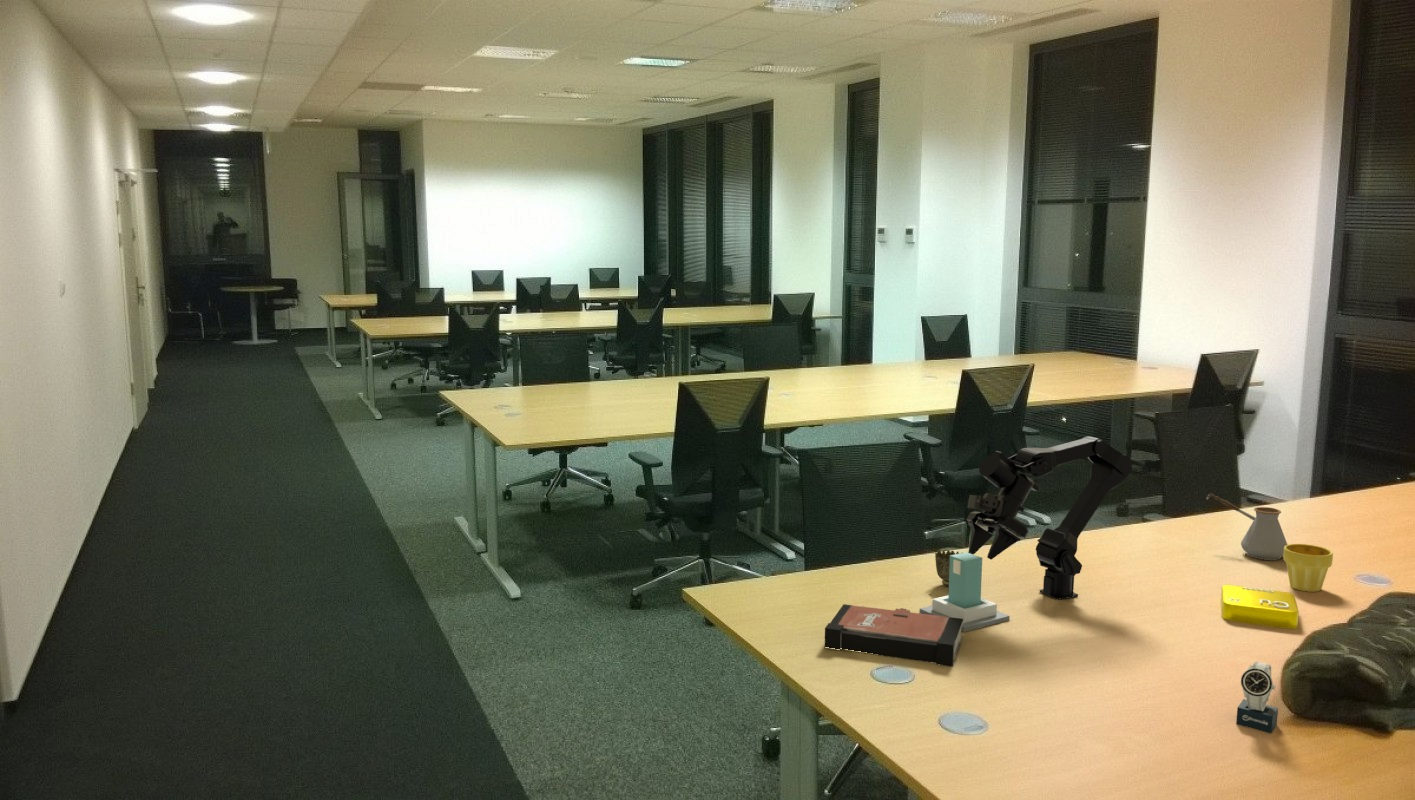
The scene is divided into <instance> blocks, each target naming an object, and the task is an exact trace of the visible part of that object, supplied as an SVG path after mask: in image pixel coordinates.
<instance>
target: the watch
mask: <svg viewBox="0 0 1415 800" xmlns="http://www.w3.org/2000/svg"><path fill="white" fill-rule="evenodd" d="M1240 685H1241V688H1242V691H1243V697H1244V698H1243V699H1242V701H1241V702H1240V703H1239V704H1238V706H1237V707H1236V708H1237V711H1236V721H1235V722H1236V723H1235V724H1236V725H1238V726H1240V727H1245V728H1249V729H1254V730H1257V731H1261V732H1264V733H1268V734H1272V733H1273V731H1274V730H1275V728H1276V727H1277V725H1278V715H1279V714H1278V713H1279V707H1277V706H1272V705H1268V704H1267V702H1269V699H1270V697H1271V693H1272V692H1273V691H1272V690H1276V689H1277V685H1275V684H1274V683H1273V678H1272V664H1268V663H1263V662H1259V661H1254V663H1252V665H1251V664H1250V665H1249V666H1248V668H1247V670H1245V671H1244V672H1243V674H1242V675H1241V676H1240Z"/></svg>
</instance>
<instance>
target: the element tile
mask: <svg viewBox="0 0 1415 800" xmlns="http://www.w3.org/2000/svg"><path fill="white" fill-rule="evenodd" d="M1220 592H1221V593H1220V613H1221V614H1220V615H1221V618H1222V619H1223V620H1226V621H1229V622H1236V623H1237V622H1238V623H1243V624H1249V625H1257V626H1265V627H1273V628H1280V629H1289V630H1294V629H1295V630H1296V629H1297V628H1298V626H1299V614H1300V611H1299V607H1298V604H1297V600H1296V596H1295V595H1294V594H1293V593H1291V592H1288V591H1281V590H1273V589H1272V590H1271V589H1266V588H1256V587H1248V586H1240V585H1233V584H1224V585H1222V587H1221V591H1220Z"/></svg>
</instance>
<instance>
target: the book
mask: <svg viewBox="0 0 1415 800" xmlns="http://www.w3.org/2000/svg"><path fill="white" fill-rule="evenodd" d="M963 621H964V619H961V618H952V617H944V616H936V615H928V614H921V613H919V612H918V613H917V612H911V610H910V609H907V608H895V609H885V608H876V607H870V606H859V605H854V604H842V606H841V607H840V608H839V610H838V612H837V613H836V614H835V616H833V618H832V620H831V621H830V622H828V623H827V625H826V626H825V627H824V648H825V647H829V648H835V649H840V648H842V649H848V650H854V651H861V652H867V653H873V654H872V655H874V654H878V655H877V656H881V655H883V656H882V657H888V656H889V657H890V658H895V657H897V659H904V660H910V661H918V662H926V663H931V662H933V664H935V665H938V664H940V666H945V667H954V663H955V660H956V657H957V655H958V653H959V649H960V646H961V644H962V641H963V637H964V635H962V631H961V627H962V625H963ZM889 657H888V658H889Z"/></svg>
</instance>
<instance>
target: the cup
mask: <svg viewBox="0 0 1415 800" xmlns="http://www.w3.org/2000/svg"><path fill="white" fill-rule="evenodd" d="M961 553H964V552H961ZM955 554H960V551H956V553H955V552H954V550H947V551H945V550H942V551H940V550H938V551H936V552H935V553H934V555H935V558H934V560H935V569H936V574H937V576H938V577H939V578H940V579H941V584H942V585H943V586H944V587H947V588H949V568H950V555H955Z"/></svg>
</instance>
